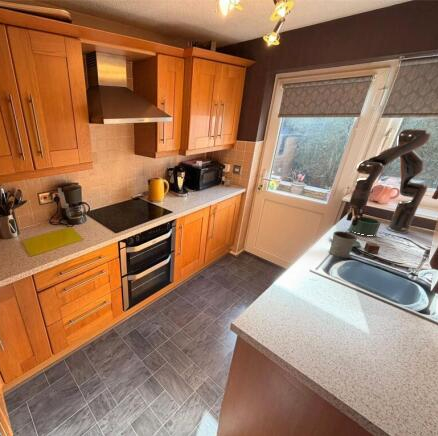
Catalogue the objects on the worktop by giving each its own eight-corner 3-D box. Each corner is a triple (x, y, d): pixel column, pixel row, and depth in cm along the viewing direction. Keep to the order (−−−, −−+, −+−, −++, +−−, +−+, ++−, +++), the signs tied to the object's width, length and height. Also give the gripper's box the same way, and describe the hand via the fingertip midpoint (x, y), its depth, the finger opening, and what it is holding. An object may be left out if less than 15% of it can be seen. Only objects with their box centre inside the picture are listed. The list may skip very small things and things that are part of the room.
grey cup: (344, 251, 133) (351, 232, 129) (354, 260, 124) (361, 240, 120) (324, 248, 136) (330, 230, 131) (332, 257, 127) (339, 238, 122)
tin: (346, 227, 165) (350, 215, 161) (370, 230, 160) (375, 217, 157) (353, 235, 153) (358, 222, 150) (379, 238, 148) (385, 225, 145)
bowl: (326, 235, 152) (329, 226, 150) (354, 239, 147) (357, 230, 145) (333, 245, 140) (337, 235, 137) (364, 249, 135) (367, 239, 132)
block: (363, 248, 136) (366, 241, 134) (373, 250, 134) (376, 243, 132) (367, 252, 132) (369, 245, 130) (377, 253, 130) (380, 246, 129)
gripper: (373, 201, 125) (364, 228, 131) (363, 194, 138) (354, 219, 143) (356, 199, 128) (347, 226, 134) (347, 193, 140) (339, 218, 146)
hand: (351, 222), depth 139 cm, fingers open, 8 cm apart
